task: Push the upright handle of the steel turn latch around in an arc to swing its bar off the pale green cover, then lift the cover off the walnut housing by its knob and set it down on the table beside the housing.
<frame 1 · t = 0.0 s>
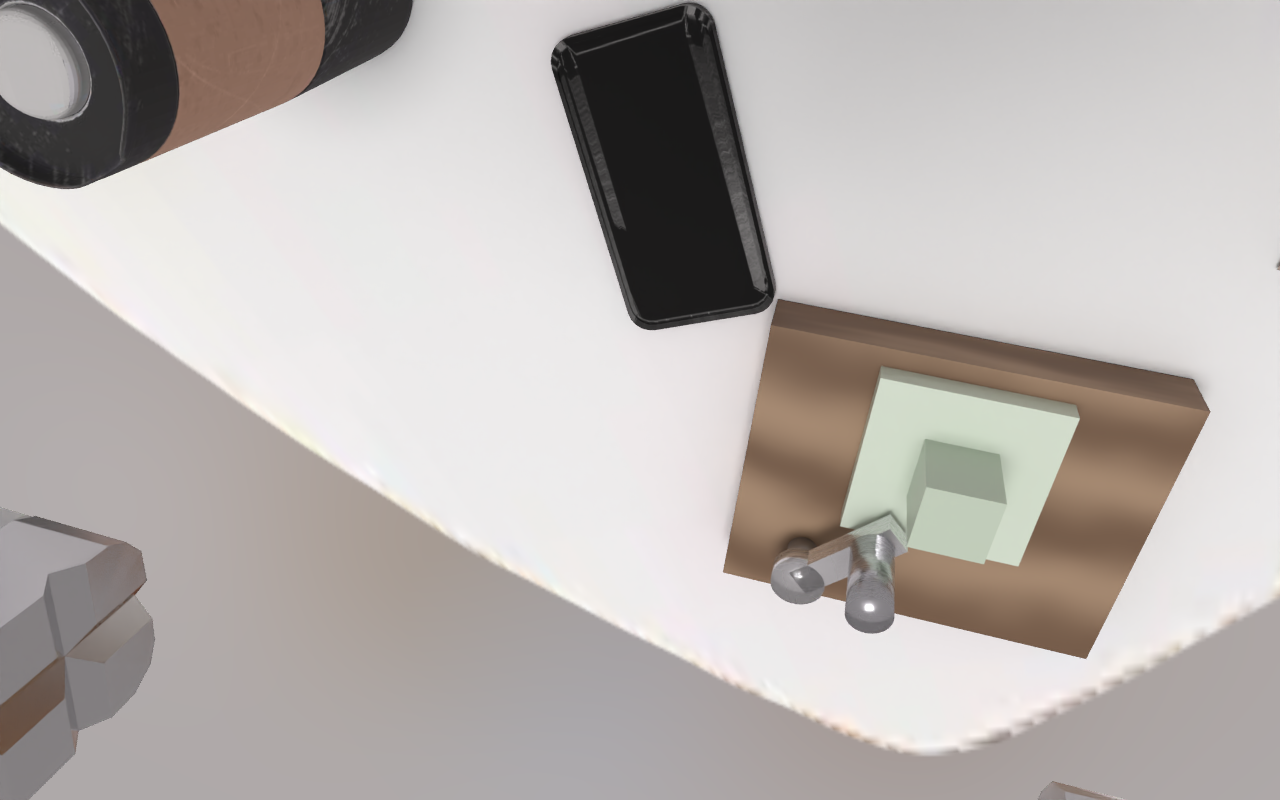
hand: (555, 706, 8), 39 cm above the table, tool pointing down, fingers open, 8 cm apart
phone: (670, 175, 47), on the table
cover: (951, 462, 47), point 3 cm above the table, touching housing
housing: (936, 468, 51), on the table
latch: (832, 590, 47), point 8 cm above the table, hinge at 0.0°
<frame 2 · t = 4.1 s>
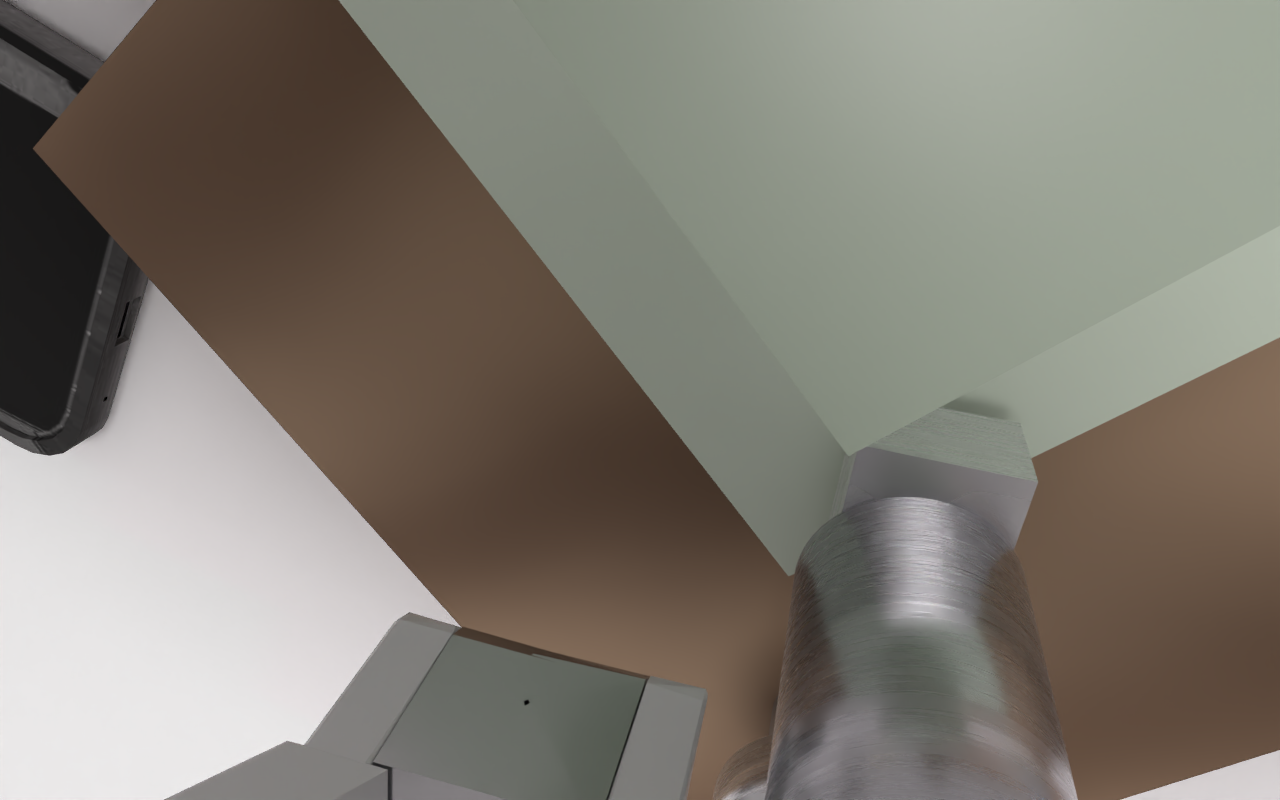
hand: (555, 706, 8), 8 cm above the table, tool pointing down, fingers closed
cover: (914, 10, 10), point 3 cm above the table, touching housing
housing: (1006, 155, 13), on the table
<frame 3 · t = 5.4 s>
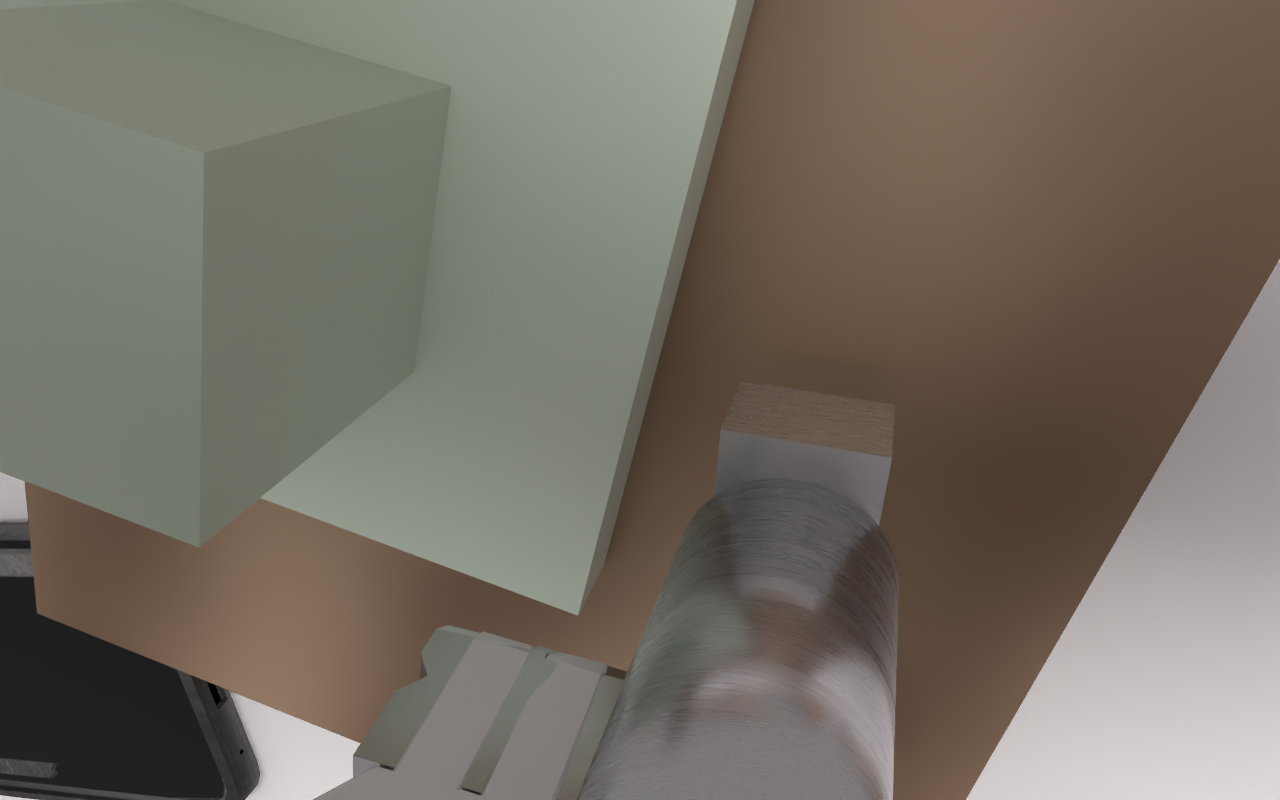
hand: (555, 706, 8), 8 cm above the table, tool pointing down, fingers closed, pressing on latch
cover: (349, 175, 12), point 3 cm above the table, touching housing
housing: (599, 183, 14), on the table
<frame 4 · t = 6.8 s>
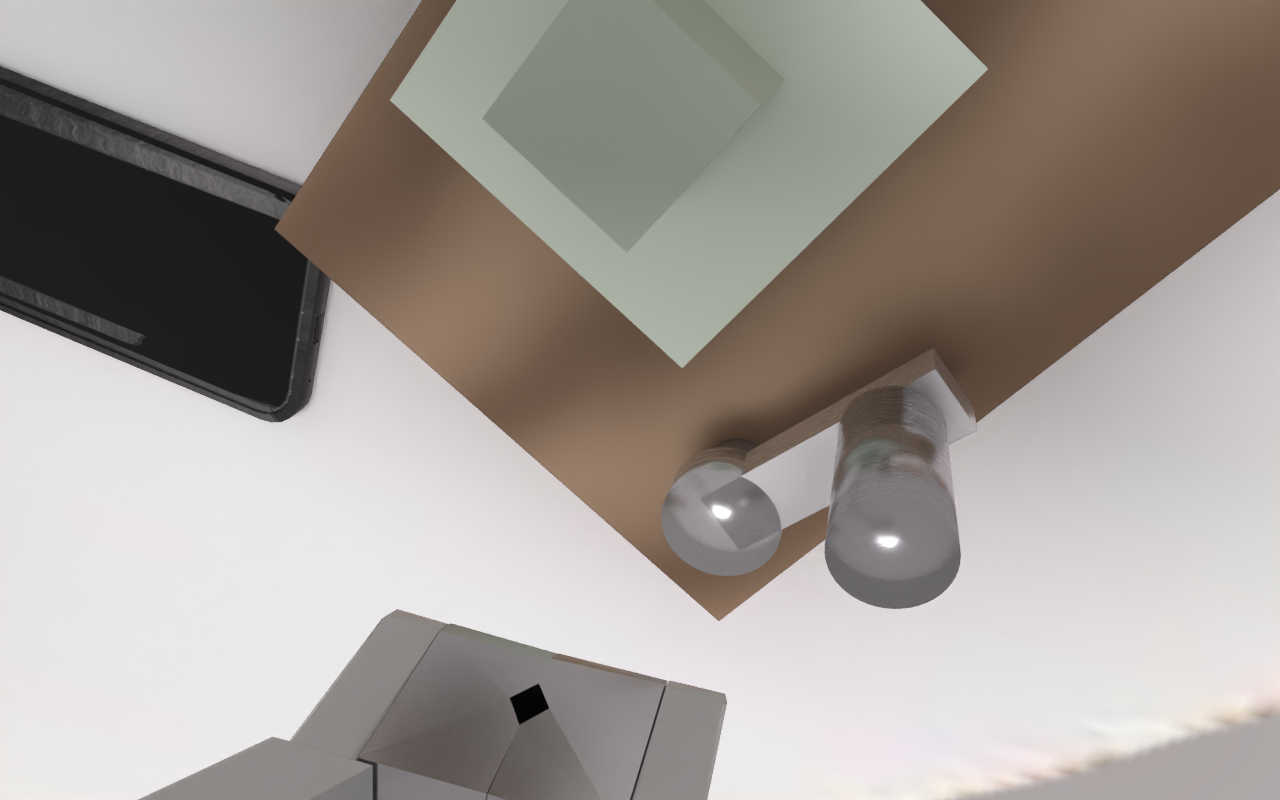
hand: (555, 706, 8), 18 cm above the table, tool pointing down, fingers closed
phone: (121, 229, 30), on the table
cover: (677, 79, 21), point 3 cm above the table, touching housing
housing: (774, 136, 24), on the table
latch: (797, 520, 19), point 8 cm above the table, hinge at -56.3°
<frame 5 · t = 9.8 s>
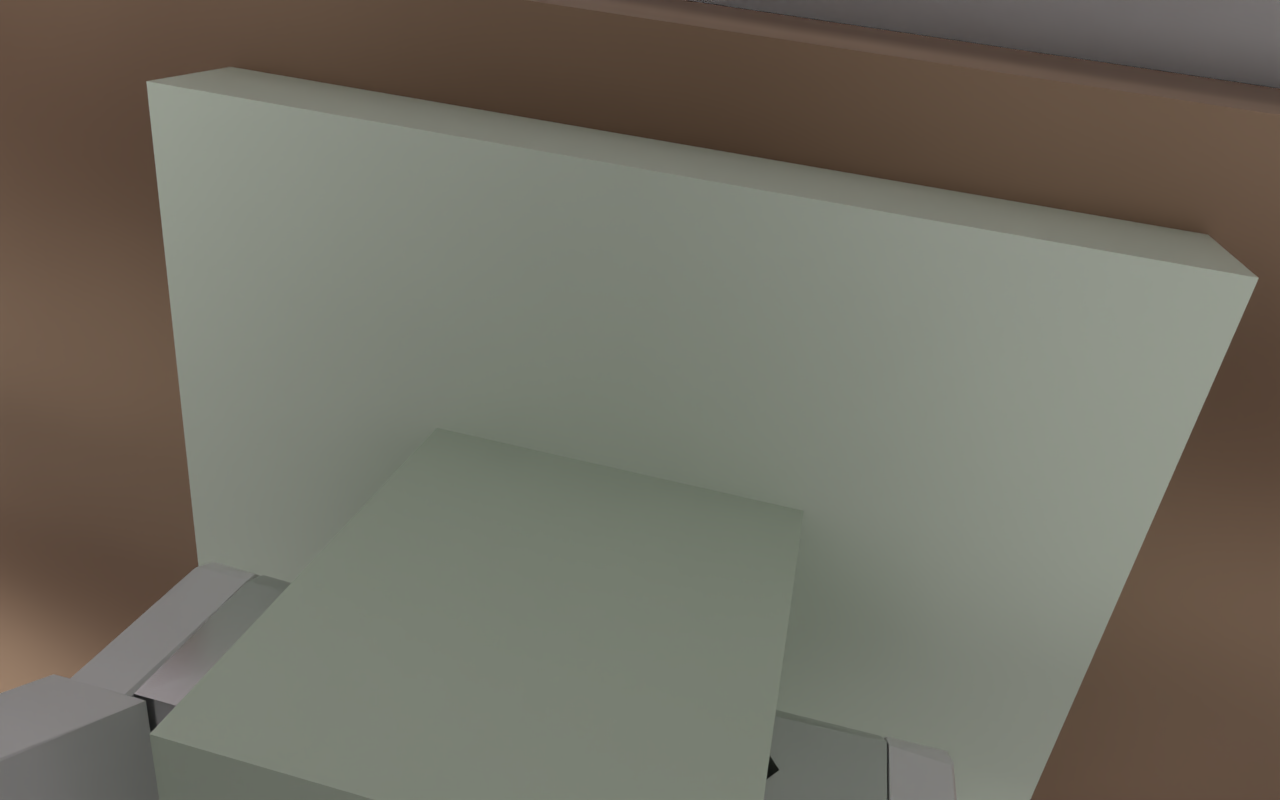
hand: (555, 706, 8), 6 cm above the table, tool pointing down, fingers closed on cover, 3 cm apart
cover: (624, 550, 11), point 3 cm above the table, touching gripper, housing
housing: (652, 575, 14), on the table
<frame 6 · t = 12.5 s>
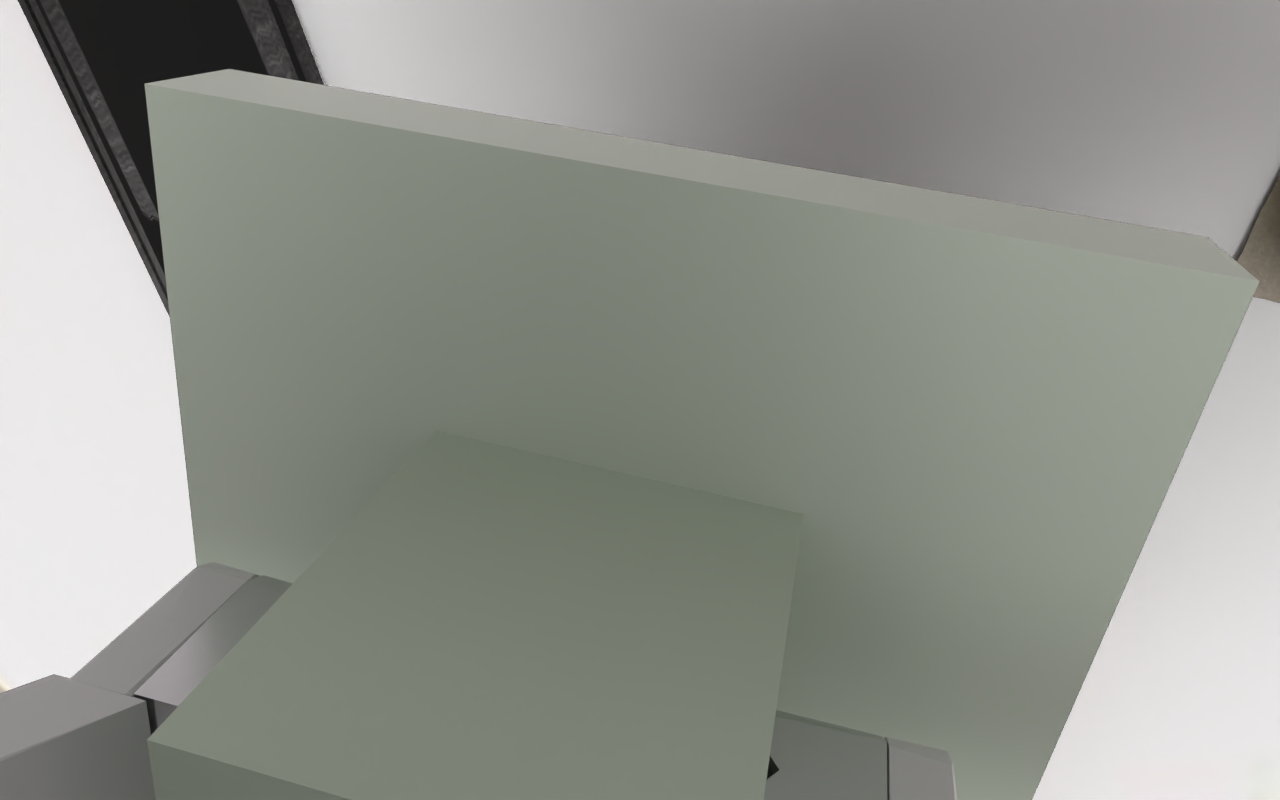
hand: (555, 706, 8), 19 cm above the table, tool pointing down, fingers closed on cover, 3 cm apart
phone: (228, 130, 28), on the table
cover: (623, 553, 11), point 16 cm above the table, touching gripper
when the fingers open (4 cm above the table, at t = 15.5 s): cover drops 2 cm, on the table.
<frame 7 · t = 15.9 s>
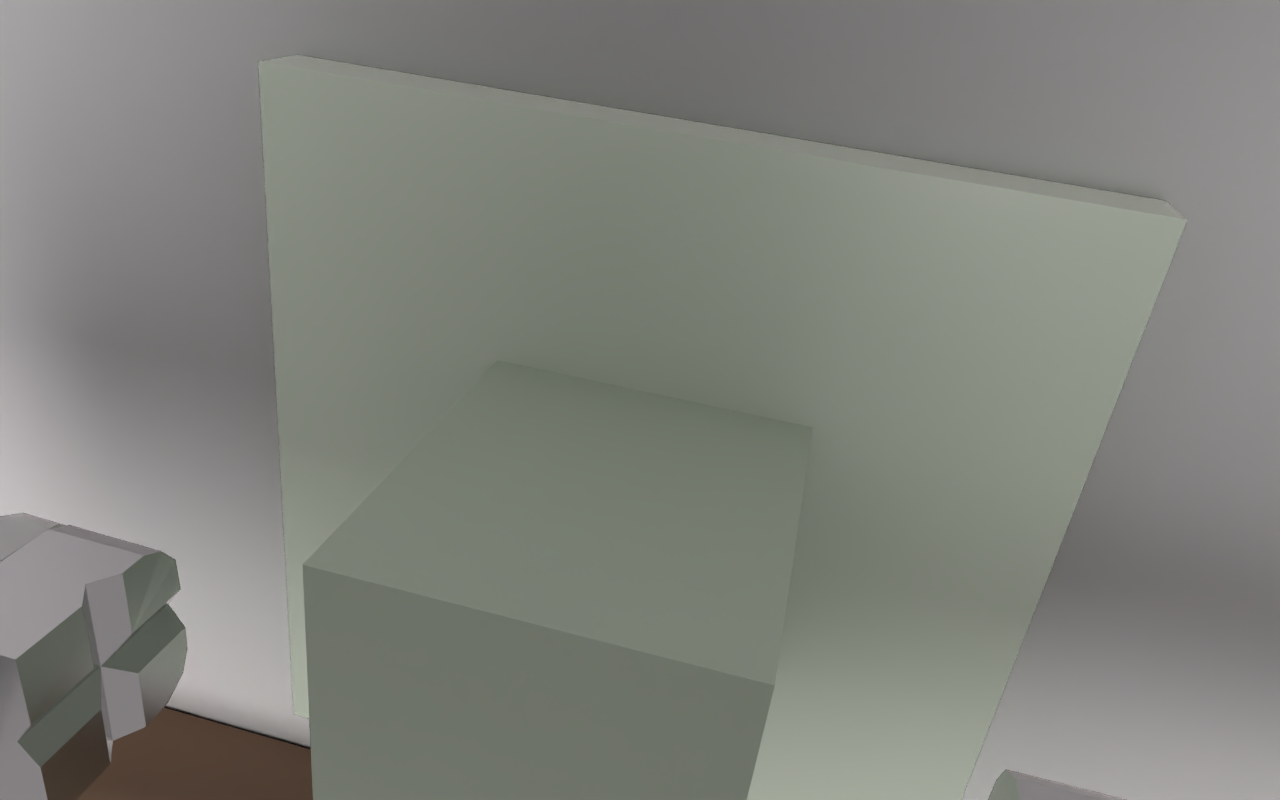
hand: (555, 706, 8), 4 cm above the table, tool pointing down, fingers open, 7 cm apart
cover: (653, 477, 12), on the table
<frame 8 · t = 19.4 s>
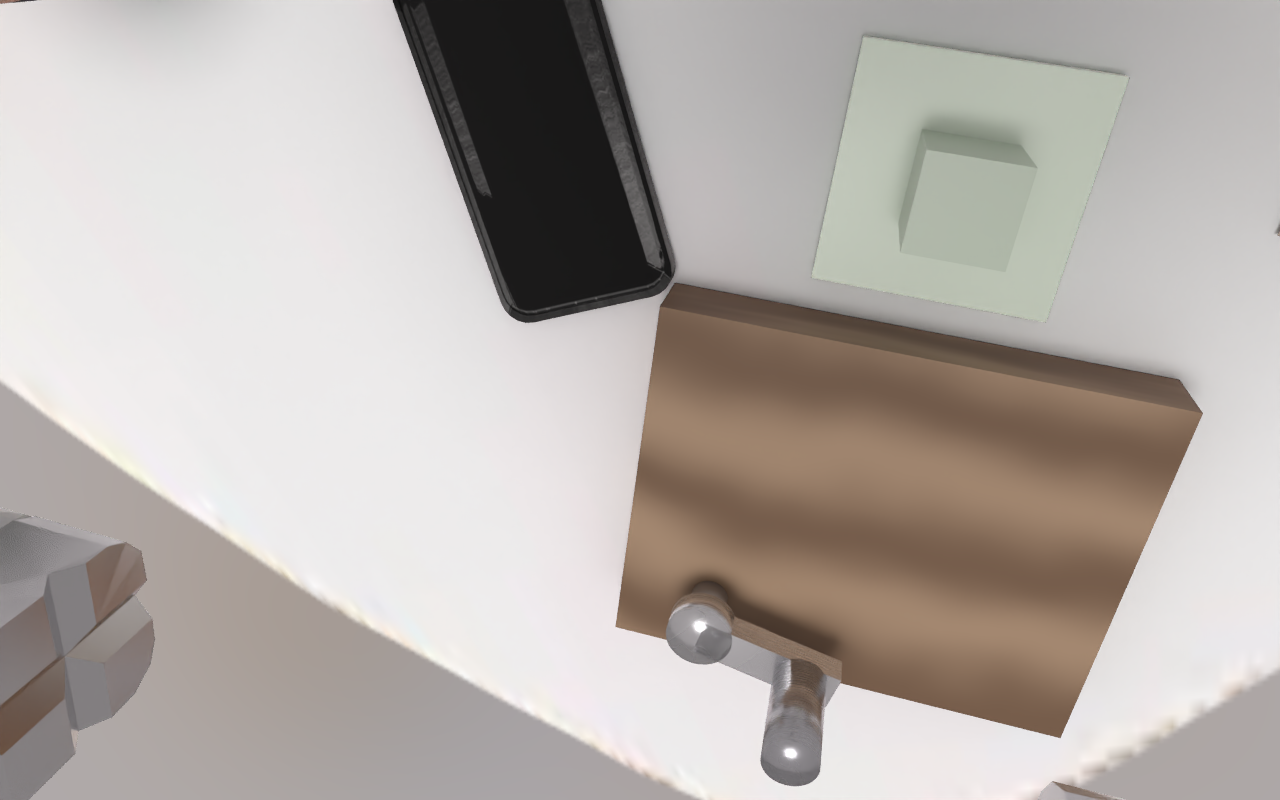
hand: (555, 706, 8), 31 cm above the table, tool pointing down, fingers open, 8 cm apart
phone: (543, 128, 39), on the table
cover: (955, 178, 36), on the table
housing: (871, 496, 42), on the table
latch: (744, 687, 38), point 8 cm above the table, hinge at -56.5°
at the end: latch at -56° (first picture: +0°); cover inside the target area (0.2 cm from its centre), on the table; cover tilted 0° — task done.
